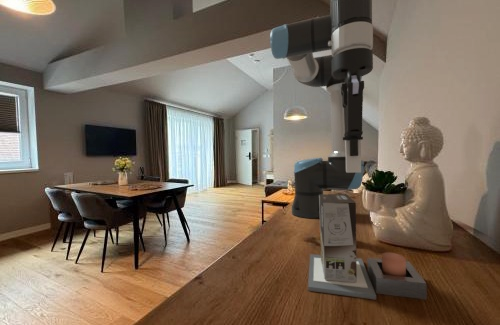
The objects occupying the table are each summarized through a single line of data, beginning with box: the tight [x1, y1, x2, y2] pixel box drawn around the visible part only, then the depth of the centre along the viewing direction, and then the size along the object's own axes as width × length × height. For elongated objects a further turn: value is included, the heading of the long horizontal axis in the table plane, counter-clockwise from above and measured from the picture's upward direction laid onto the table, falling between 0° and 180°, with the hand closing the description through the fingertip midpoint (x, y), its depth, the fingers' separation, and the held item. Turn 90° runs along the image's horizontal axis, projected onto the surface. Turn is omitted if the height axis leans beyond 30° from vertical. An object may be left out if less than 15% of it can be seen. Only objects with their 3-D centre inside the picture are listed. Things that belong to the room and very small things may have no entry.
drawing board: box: [307, 253, 377, 301], centre depth 49 cm, size 14×12×1 cm
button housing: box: [366, 257, 428, 300], centre depth 45 cm, size 8×8×3 cm
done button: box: [381, 252, 407, 277], centre depth 45 cm, size 4×4×4 cm
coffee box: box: [319, 193, 357, 283], centre depth 49 cm, size 9×6×16 cm
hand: (353, 172), depth 46 cm, fingers closed
